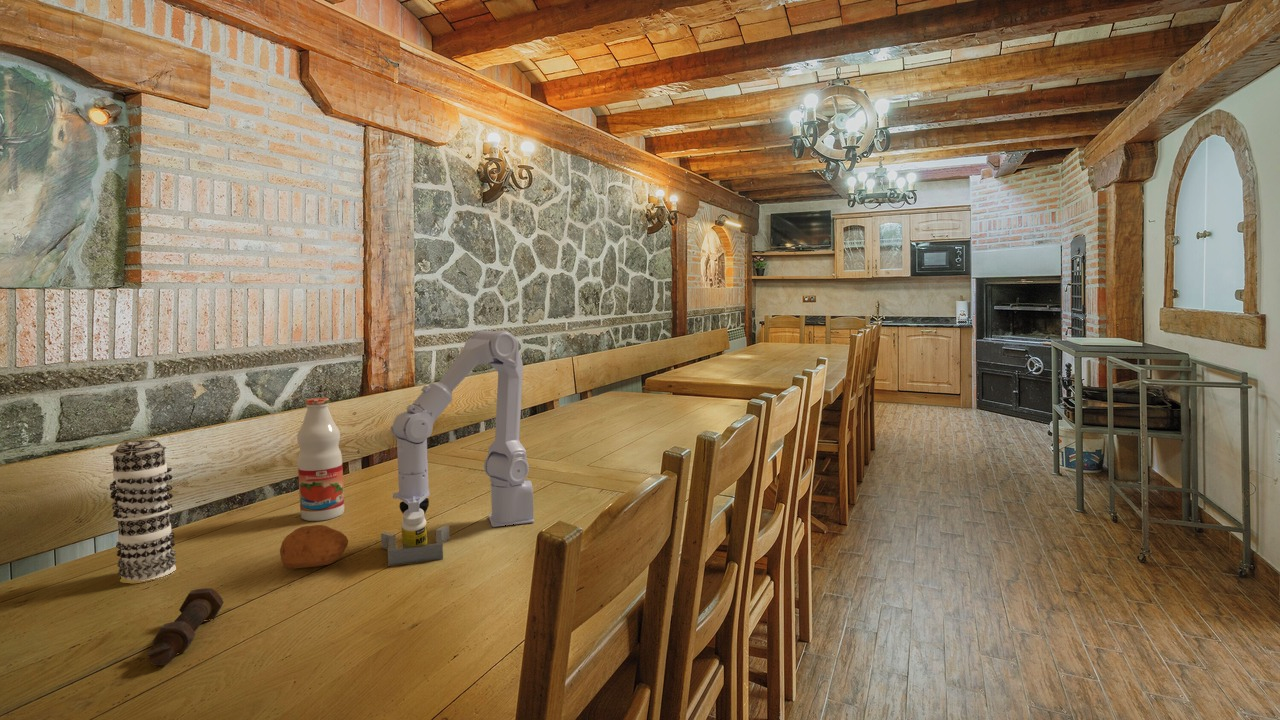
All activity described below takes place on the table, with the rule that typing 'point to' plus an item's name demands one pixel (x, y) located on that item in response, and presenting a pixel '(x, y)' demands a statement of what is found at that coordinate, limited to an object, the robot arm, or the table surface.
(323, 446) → the fruit juice
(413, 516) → the supplement bottle
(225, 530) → the table surface
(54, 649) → the table surface
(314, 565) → the potato
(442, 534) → the steel bracket
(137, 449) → the decorative candle
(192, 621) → the bolt
